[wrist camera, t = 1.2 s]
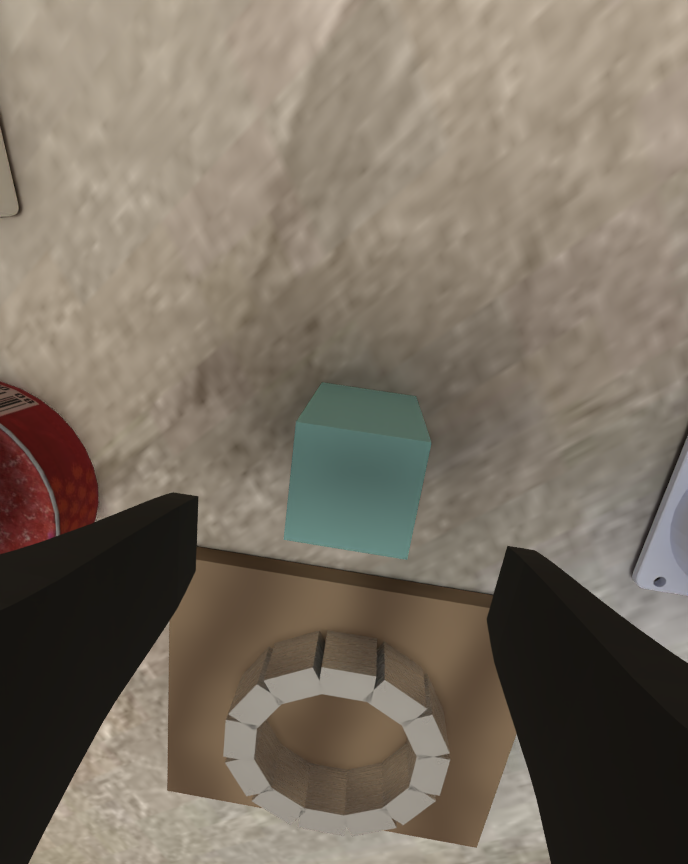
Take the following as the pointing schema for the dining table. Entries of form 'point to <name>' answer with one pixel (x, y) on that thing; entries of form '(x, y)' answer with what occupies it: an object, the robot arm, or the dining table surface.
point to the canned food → (40, 473)
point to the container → (6, 185)
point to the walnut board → (329, 715)
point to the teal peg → (357, 471)
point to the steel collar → (328, 786)
